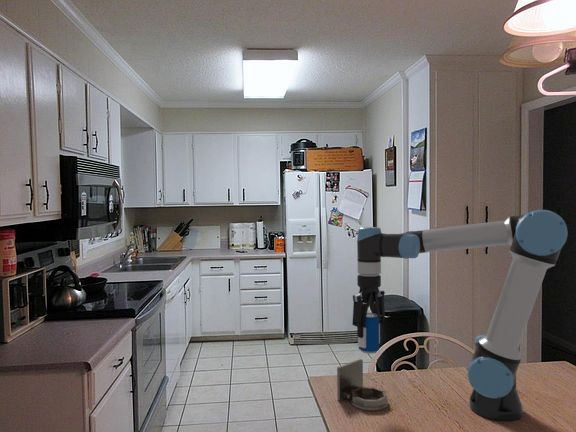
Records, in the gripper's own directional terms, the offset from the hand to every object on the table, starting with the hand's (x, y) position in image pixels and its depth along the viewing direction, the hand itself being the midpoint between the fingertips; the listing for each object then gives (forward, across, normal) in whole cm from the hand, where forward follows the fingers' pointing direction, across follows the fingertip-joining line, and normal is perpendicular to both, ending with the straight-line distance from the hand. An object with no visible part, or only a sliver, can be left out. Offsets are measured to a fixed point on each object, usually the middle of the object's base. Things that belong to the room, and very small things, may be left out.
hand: (369, 344), depth 148 cm
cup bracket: (+19, 0, -1) cm, 19 cm away
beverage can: (+2, 0, 0) cm, 2 cm away
